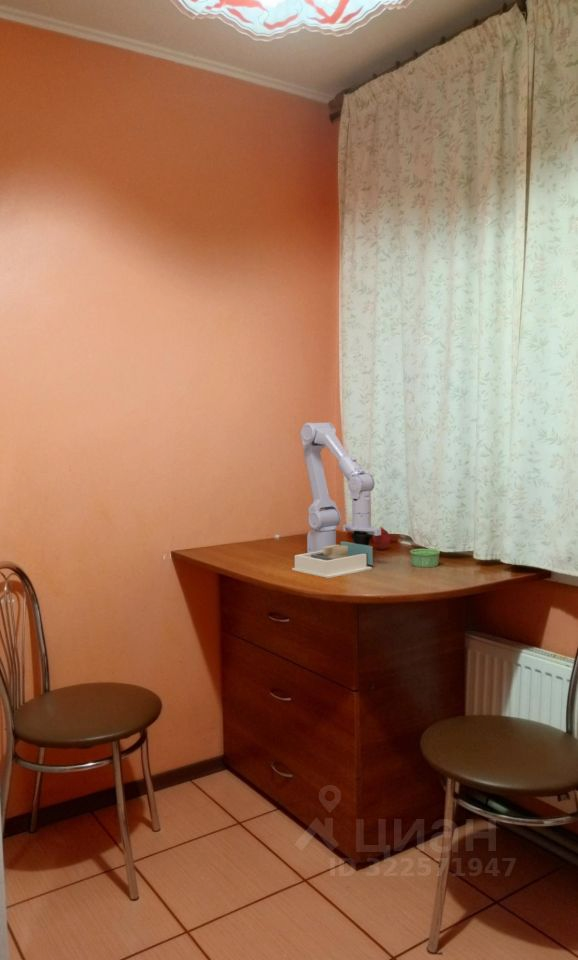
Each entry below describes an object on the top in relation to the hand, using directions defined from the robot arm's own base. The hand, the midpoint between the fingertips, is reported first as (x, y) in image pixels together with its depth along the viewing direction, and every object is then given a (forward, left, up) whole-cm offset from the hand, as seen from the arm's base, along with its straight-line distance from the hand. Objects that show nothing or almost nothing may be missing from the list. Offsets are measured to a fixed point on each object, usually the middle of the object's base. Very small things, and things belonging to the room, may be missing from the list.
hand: (361, 556), depth 234 cm
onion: (-12, +22, -3) cm, 25 cm away
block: (0, -11, -1) cm, 11 cm away
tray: (0, -9, -1) cm, 9 cm away
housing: (0, -13, -2) cm, 13 cm away
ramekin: (+15, +12, -3) cm, 20 cm away
